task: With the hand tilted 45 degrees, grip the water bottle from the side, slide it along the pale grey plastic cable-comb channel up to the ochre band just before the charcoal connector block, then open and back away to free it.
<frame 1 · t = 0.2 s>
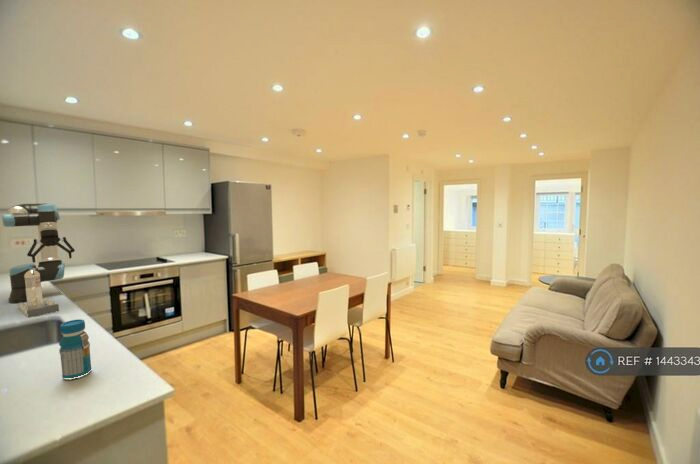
hand: (53, 265, 184), 27 cm above the counter, tool tilted 15°, fingers open, 13 cm apart
connector block: (43, 313, 183), on the counter
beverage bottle: (77, 375, 117), on the counter
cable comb: (37, 309, 190), on the counter
water bottle: (35, 307, 194), on the counter
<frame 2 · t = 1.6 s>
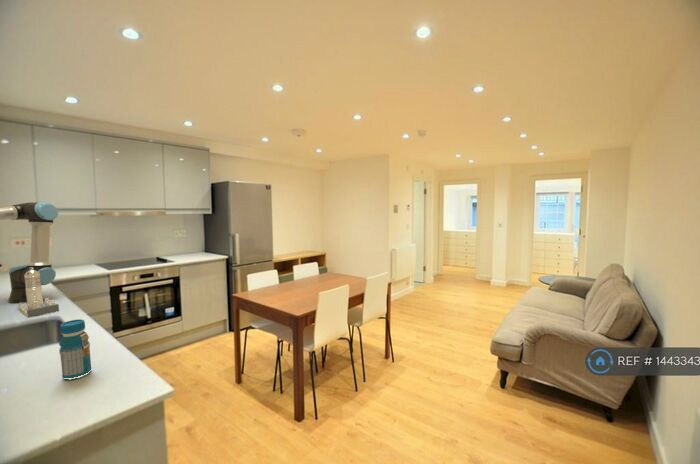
hand: (5, 268, 183), 26 cm above the counter, tool tilted 45°, fingers open, 13 cm apart
nothing on the counter moved.
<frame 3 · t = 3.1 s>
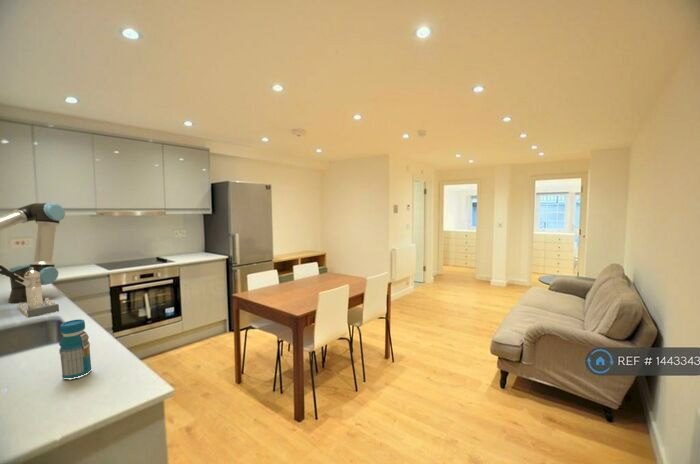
hand: (26, 282, 190), 16 cm above the counter, tool tilted 45°, fingers open, 13 cm apart
nothing on the counter moved.
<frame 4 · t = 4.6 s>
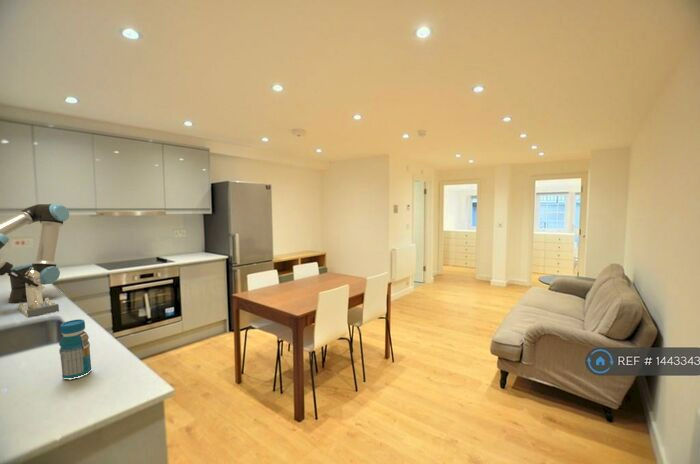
hand: (41, 288, 196), 11 cm above the counter, tool tilted 45°, fingers closed on water bottle, 7 cm apart
water bottle: (35, 307, 194), on the counter, touching gripper
everything else where it was.
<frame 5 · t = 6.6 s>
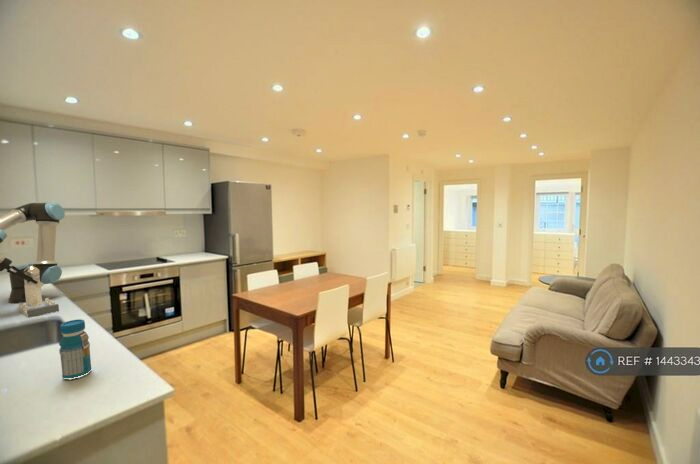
hand: (40, 285, 191), 14 cm above the counter, tool tilted 45°, fingers closed on water bottle, 7 cm apart
water bottle: (34, 305, 189), point 3 cm above the counter, touching gripper
everything else where it was.
when the fingers open (12 cm above the counter, at t = 8.8 s): water bottle stays where it is, resting on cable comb.
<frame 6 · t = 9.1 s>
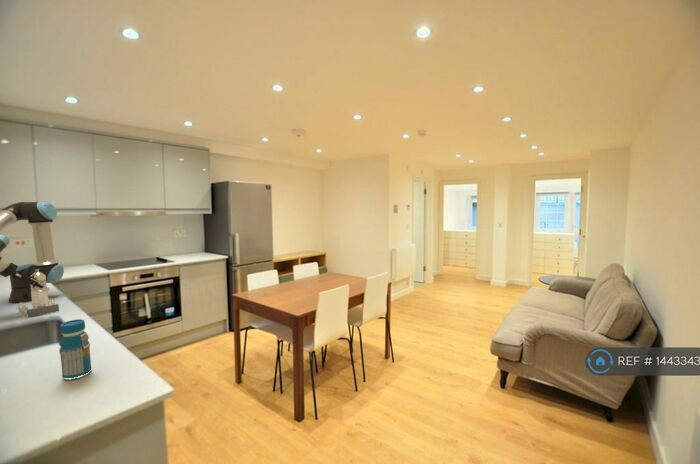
hand: (45, 289, 187), 13 cm above the counter, tool tilted 45°, fingers open, 10 cm apart
water bottle: (41, 311, 186), resting on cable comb
everything else where it was.
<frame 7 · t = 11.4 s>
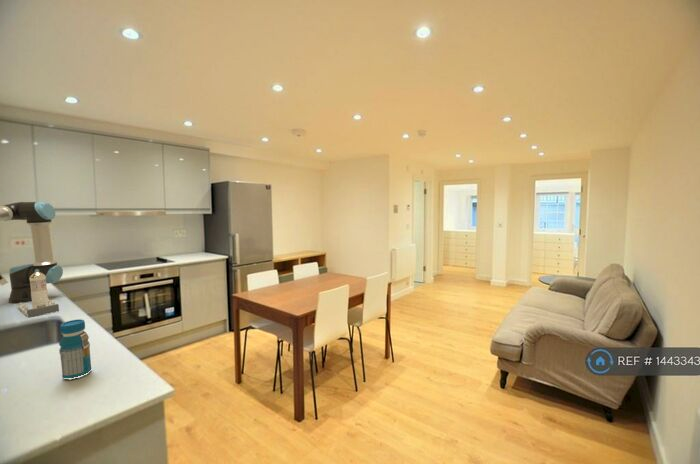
hand: (2, 281, 173), 21 cm above the counter, tool tilted 25°, fingers open, 13 cm apart
nothing on the counter moved.
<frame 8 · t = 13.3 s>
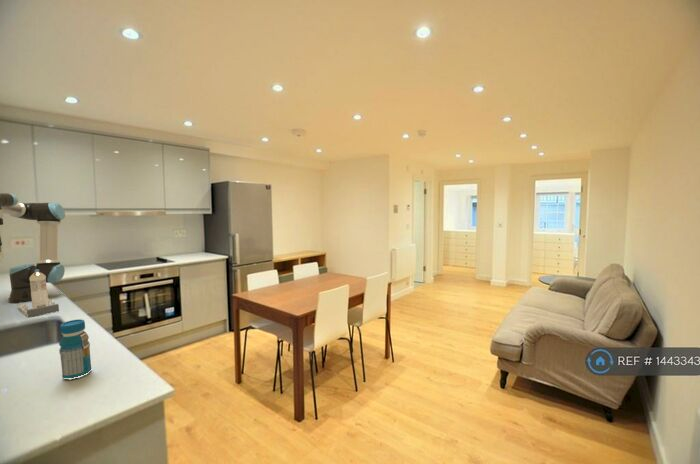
nothing on the counter moved.
at the end: water bottle inside the target area (0.1 cm from its centre), resting on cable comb; water bottle tilted 0°; the gripper is holding nothing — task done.
